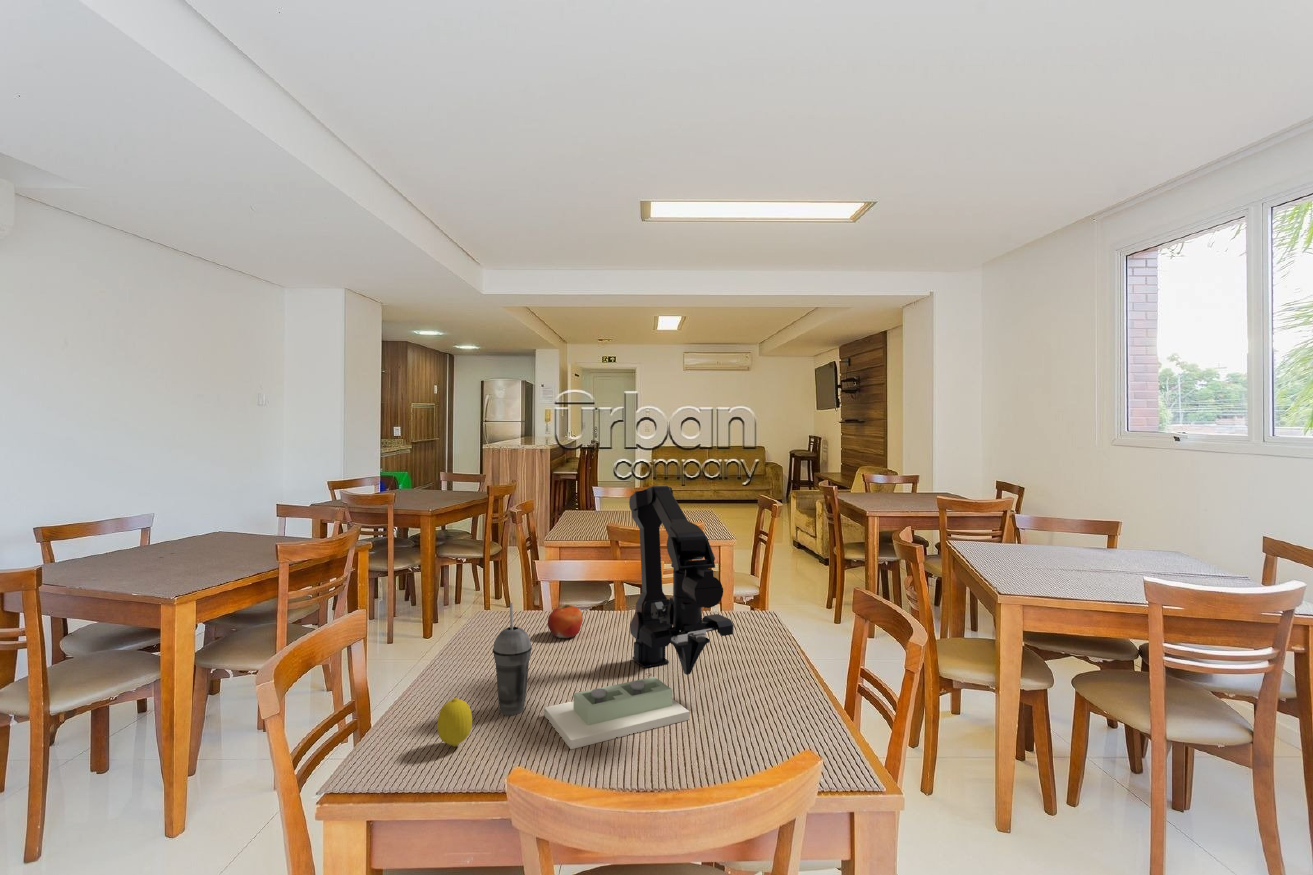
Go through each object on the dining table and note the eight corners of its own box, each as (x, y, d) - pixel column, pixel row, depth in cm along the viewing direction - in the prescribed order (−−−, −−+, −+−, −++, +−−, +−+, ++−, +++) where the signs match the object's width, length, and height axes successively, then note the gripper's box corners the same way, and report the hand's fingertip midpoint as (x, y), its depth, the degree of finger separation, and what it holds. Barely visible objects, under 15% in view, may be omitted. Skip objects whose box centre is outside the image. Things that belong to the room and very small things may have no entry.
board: (653, 691, 123) (653, 664, 123) (689, 719, 110) (689, 689, 110) (544, 715, 112) (544, 685, 112) (570, 749, 99) (571, 716, 99)
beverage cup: (496, 722, 109) (497, 611, 109) (488, 706, 115) (489, 601, 115) (536, 714, 112) (537, 606, 112) (525, 699, 119) (526, 597, 119)
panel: (654, 691, 119) (654, 676, 119) (672, 705, 113) (672, 689, 113) (573, 709, 111) (573, 693, 111) (587, 725, 105) (587, 708, 105)
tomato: (580, 641, 153) (580, 610, 153) (544, 641, 153) (544, 610, 153) (585, 630, 162) (585, 600, 162) (551, 630, 162) (551, 600, 162)
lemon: (442, 738, 103) (442, 691, 103) (475, 737, 103) (475, 691, 103) (432, 755, 97) (433, 706, 97) (467, 754, 98) (468, 705, 98)
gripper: (704, 581, 130) (704, 653, 130) (627, 590, 121) (626, 668, 121) (735, 592, 120) (734, 670, 120) (653, 604, 111) (652, 688, 111)
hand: (687, 673), depth 118 cm, fingers closed
